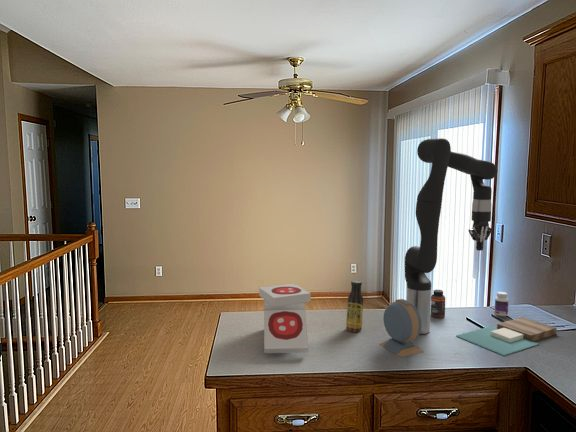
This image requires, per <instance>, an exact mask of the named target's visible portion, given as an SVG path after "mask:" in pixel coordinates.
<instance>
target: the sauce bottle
mask: <svg viewBox="0 0 576 432" xmlns="http://www.w3.org/2000/svg"><path fill="white" fill-rule="evenodd" d="M350 284H351V290H350V293H349V294H348V296H347V303H346V304H347V306H346V319H345V320H346V325H345V326H346V327H345V328H346V329H345V330H347V331H348V332H351V333H359V332H361V331H362V327H363V315H364V314H363V311H364V298H363V295H362V284H363V282H362V280H356V279H354V280H353V279H352V280H351V282H350Z"/></svg>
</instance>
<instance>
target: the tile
mask: <svg viewBox="0 0 576 432" xmlns="http://www.w3.org/2000/svg"><path fill="white" fill-rule="evenodd" d="M496 329H497V328H496ZM491 336H494V337H496V338H499V339H502V340H504V341H507V342H514V341H517V340H520V339H523V336H524V334H521V333H518V332H515V331H512V330H509V329H507V328H501V329H497V330H494V331H491Z"/></svg>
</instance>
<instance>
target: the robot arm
mask: <svg viewBox="0 0 576 432" xmlns="http://www.w3.org/2000/svg"><path fill="white" fill-rule="evenodd" d="M451 147H452V146H451V143H450V141H449V140H448V139H446V138H442V137H441V138H427V139H424V140H422V141H420V143H419V144H418V146H417V149H416V150H417V152H416V154H417V157H418V159H420V160H421V161H422V162H423V163H427V164H431V168H430V173H429V176H428V178H427V180H426V182H425V183H424V184H423V186H422V187H421V189H420V190H419V192H418V194H417V196H416V197H417V198H416V203H415V217H416V221H417V225H418V229H419V232H420V245H419V246H417V245H413V246H410V248H408V249H407V251H406V252H405V256H404V278H405V282H406V299H405V300H406V301H408V302H409V303H410V304H412V305H413V306H414V307H415V308H416V309H417V310H418V312H419V314H420V317H421V322H422V326H421V331H420V333H419V335H424V334H428V333H430V329H431V328H430V327H431V296H432V282H431V280H430V279H429V278H428V276H427V275H426V274H429V273H431V272H432V271H434V269H435V268H436V265H437V261H438V238H439V225H440V218H441V212H442V203H443V193H444V187H445V183H446V181H445V180H446V176H447V172H448V168H451V169H453V170H455V171H459V172H461V173H463V174H466V175H470V180H471V185H472V188H473V189H472V190H473V193H472V194H473V195H472V203H471V221H472V222H473V223H472V228H469V229H467V230H468V232H469V235H470V237H471V239H472V241H475V242H476V243H475V245H476V246H475V249H476V251H484V245H485V244H484V243H485V241H487V240H488V239H489V237H490V235H491V233H492V232H493V228H492V227H490V226H489V225H490V223H489V222H491V219H492V192H493V191H492V187H491V186H490V185H487V184H485V183H484V180H488V181H489V180H492V179H493V180H494V178H496V177H497V175H498V167H497V166H496V165H495V163H493V162H491V161H487V160H482V159H477V158H475V157H473V156H470V155H469V154H465V153H462V152H457V151H453V150H452V148H451Z"/></svg>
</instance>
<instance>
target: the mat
mask: <svg viewBox="0 0 576 432" xmlns="http://www.w3.org/2000/svg"><path fill="white" fill-rule="evenodd" d="M494 330H497V327H493V326H490V325H489V326H487V327H482V328H480V329H475V330H471V331H468V332H465V333H464V332H463V333H460V334H456V336H455V337H457V338H459V339H462V340H464V341H466V342H469V343H471V344H474V345H475V346H478V347H480V348H484V349H486V350H488V351H490V352H493V353H495V354H498V355H500V356H503V357H506V356H509V355H511V354H512V355H513V354H515V353H518V352H520V351H524V350H527V349H531V348H534V347H536V346H539V345H540V344H539V343H538V342H536V341H530V340H527V339H524V338H523V339H520V340H517V341H514V342H507V341H504V340H502V339H499V338H496V337H494V336H491V331H494Z"/></svg>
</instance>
